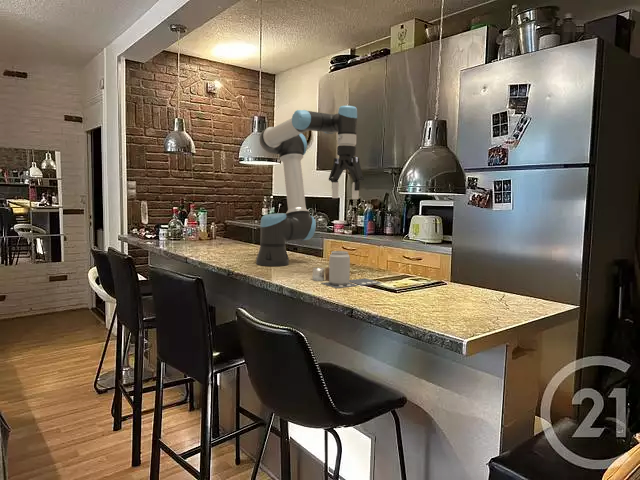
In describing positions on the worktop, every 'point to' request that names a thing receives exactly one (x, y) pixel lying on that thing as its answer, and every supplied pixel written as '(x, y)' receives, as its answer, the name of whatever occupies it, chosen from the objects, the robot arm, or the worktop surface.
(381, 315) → the worktop surface
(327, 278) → the walnut block
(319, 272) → the tin
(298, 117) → the robot arm
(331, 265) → the can
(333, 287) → the pad two
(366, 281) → the pad three
